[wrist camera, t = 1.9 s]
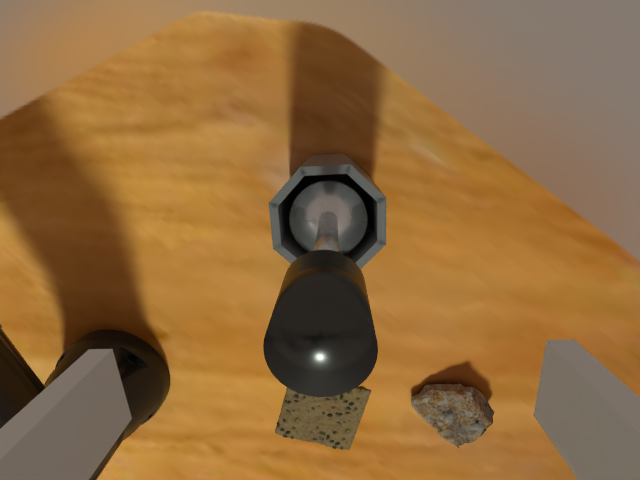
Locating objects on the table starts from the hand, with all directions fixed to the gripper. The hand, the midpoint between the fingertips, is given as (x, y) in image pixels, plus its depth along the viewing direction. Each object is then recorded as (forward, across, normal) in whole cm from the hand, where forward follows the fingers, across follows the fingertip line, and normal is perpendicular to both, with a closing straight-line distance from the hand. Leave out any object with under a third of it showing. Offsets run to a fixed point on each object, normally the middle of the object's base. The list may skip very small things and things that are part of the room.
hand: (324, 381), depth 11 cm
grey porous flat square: (+32, -3, -32) cm, 46 cm away
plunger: (+20, 0, 0) cm, 20 cm away
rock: (+32, +16, -31) cm, 48 cm away
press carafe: (+32, 0, 0) cm, 32 cm away
